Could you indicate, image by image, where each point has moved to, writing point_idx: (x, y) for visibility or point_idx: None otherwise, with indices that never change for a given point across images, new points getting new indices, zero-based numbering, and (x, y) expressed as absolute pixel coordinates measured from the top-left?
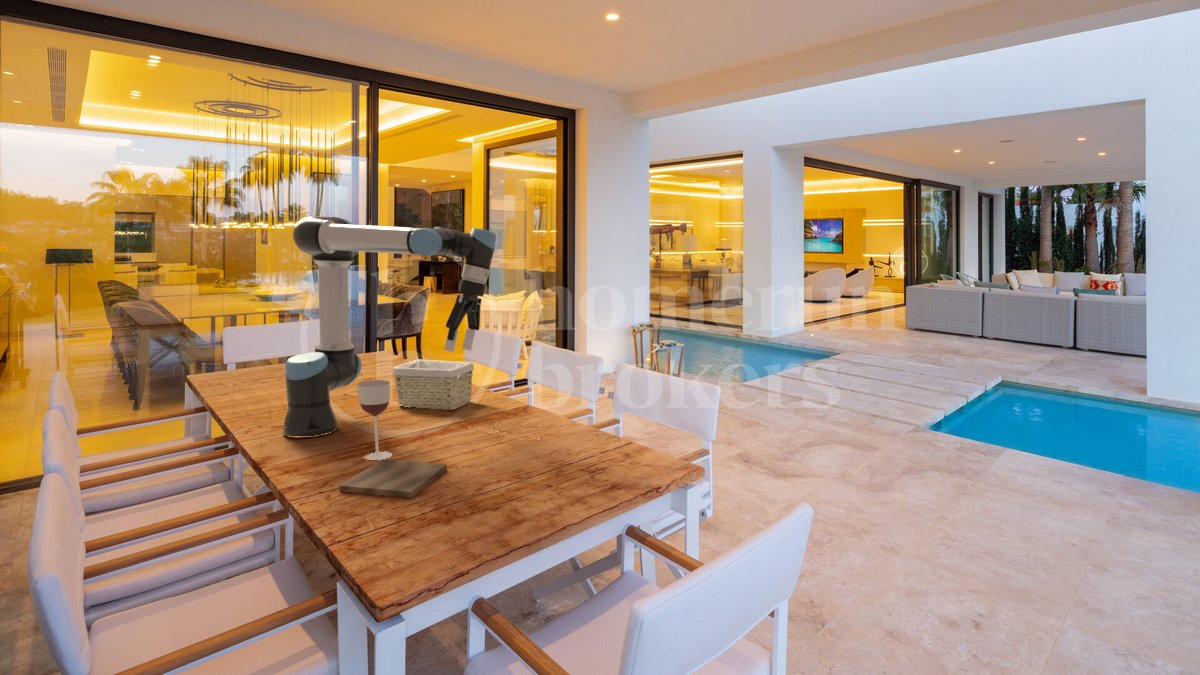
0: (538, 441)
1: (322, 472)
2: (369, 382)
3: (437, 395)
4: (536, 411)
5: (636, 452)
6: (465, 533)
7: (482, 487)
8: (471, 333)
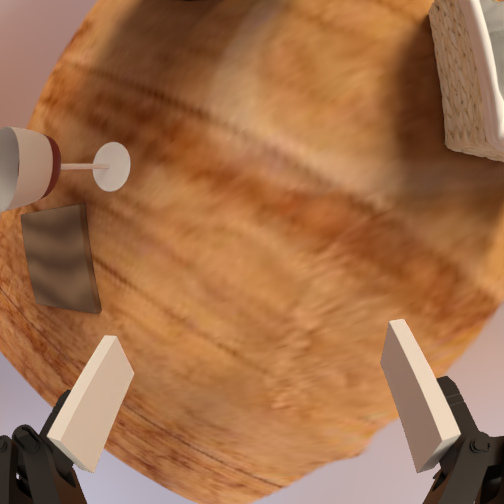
0: (263, 406)
1: None
2: (18, 132)
3: (457, 99)
4: (462, 346)
5: (251, 491)
6: (33, 365)
7: None
8: (415, 440)
